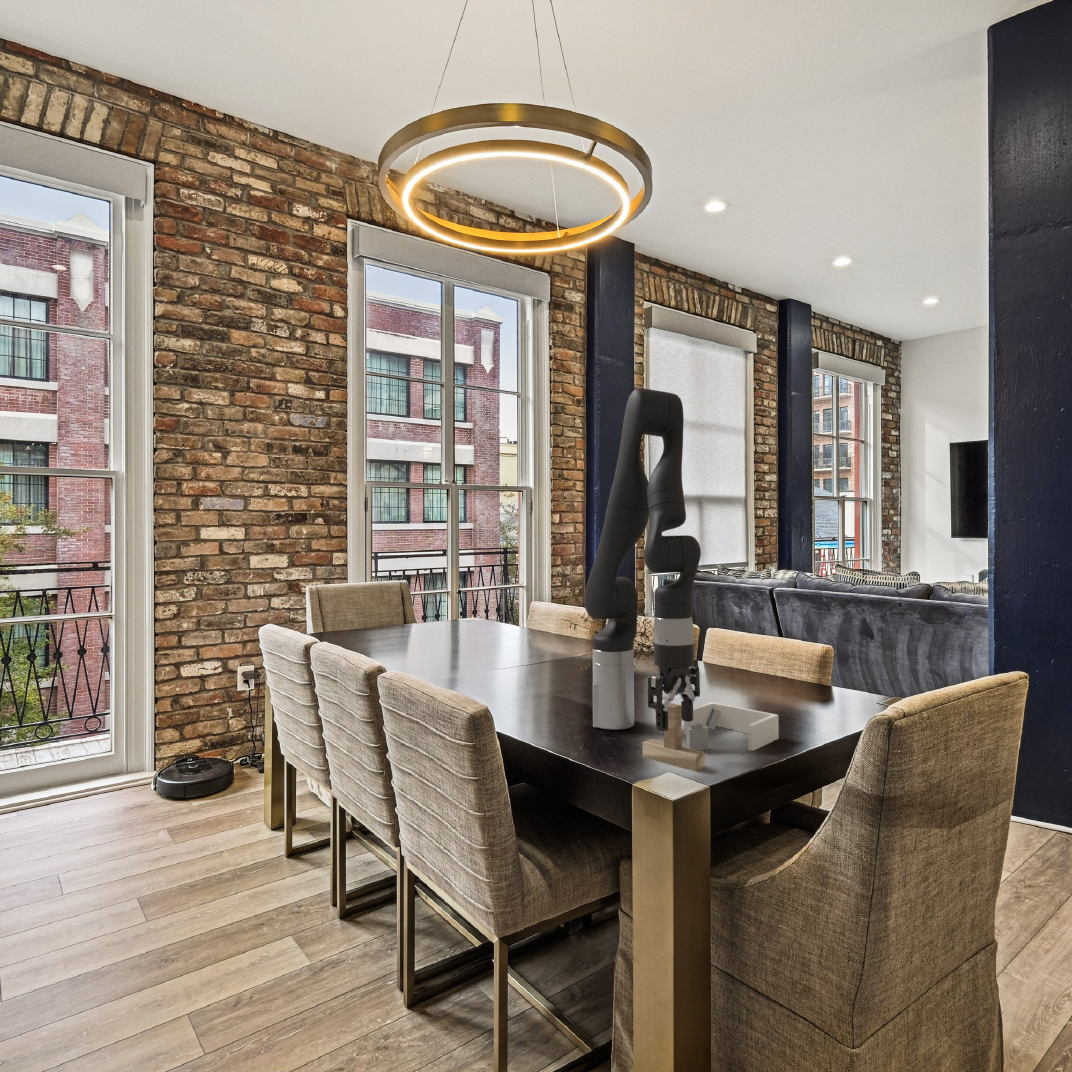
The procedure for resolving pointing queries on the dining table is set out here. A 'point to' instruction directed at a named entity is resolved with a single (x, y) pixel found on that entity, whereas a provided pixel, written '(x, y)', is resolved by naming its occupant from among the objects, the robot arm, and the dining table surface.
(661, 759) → the wooden t-shaped post
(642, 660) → the dried plant
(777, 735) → the box
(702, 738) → the lighter
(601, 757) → the dining table surface
